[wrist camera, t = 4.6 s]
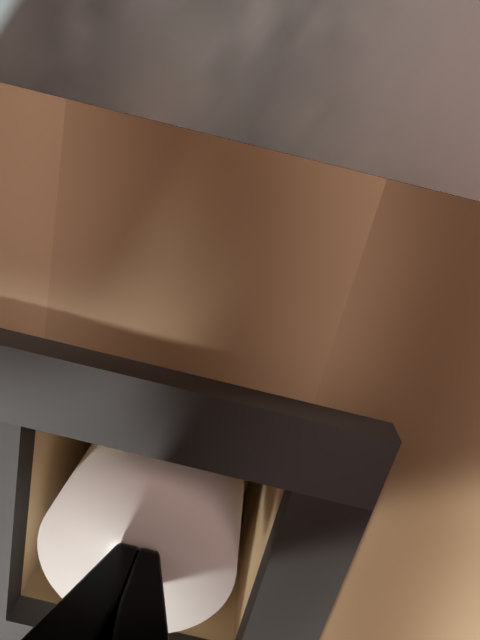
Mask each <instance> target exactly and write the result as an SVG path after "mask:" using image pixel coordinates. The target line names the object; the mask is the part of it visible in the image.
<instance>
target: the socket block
mask: <svg viewBox="0 0 480 640" xmlns="http://www.w3.org/2000/svg"><path fill="white" fill-rule="evenodd" d="M91 444H97V445H101V446H105V447H109V448H113V449H117V450H121V451H126V452H130V453H134V454H138V455H142V456H146V457H151V458H155V459H159V460H163V461H167V462H171V463H175V464H180V465H184V466H188V467H192V468H196V469H200V470H205V471H209V472H213V473H217V474H221V475H225V476H229V477H234V478H238V479H242V480H245V482H244V494H243V505H242V517H241V528H240V539H239V551H238V562H237V574H236V579H235V584H234V587H233V589H232V592H231V594H230V596H229V597H228V599H227V601H226V602H225V603H224V605H223V606H222V607H221V608H220V609H219V610H218V611H217V612H216V613H215V614H214V615H212V616H211V617H210V618H208V619H207V620H205V621H203V622H202V623H200V624H198V625H195V626H193V627H191V628H188V629H185V630H182V631H177V632H173V633H168V635H169V640H480V202H479V201H475V200H471V199H467V198H463V197H459V196H455V195H451V194H447V193H443V192H439V191H435V190H430V189H426V188H422V187H418V186H414V185H410V184H406V183H402V182H398V181H394V180H390V179H386V178H382V177H378V176H374V175H370V174H366V173H362V172H358V171H354V170H350V169H346V168H342V167H338V166H334V165H330V164H326V163H322V162H318V161H314V160H310V159H306V158H302V157H298V156H294V155H290V154H286V153H282V152H278V151H274V150H270V149H266V148H262V147H258V146H254V145H250V144H246V143H242V142H238V141H234V140H230V139H226V138H222V137H218V136H214V135H210V134H206V133H202V132H198V131H194V130H190V129H186V128H182V127H178V126H174V125H170V124H166V123H162V122H158V121H154V120H150V119H146V118H142V117H138V116H134V115H130V114H126V113H121V112H117V111H113V110H109V109H105V108H101V107H97V106H93V105H89V104H85V103H81V102H77V101H73V100H69V99H65V98H61V97H57V96H53V95H49V94H45V93H41V92H37V91H33V90H29V89H25V88H21V87H17V86H13V85H9V84H5V83H1V82H0V640H21V639H22V638H23V637H24V636H25V635H26V634H27V633H28V632H29V631H30V630H31V629H32V628H33V627H34V626H35V625H36V624H37V623H38V622H39V621H40V620H41V619H42V618H43V617H44V616H45V615H46V614H47V613H48V612H49V611H50V610H51V609H52V608H53V607H54V606H55V605H56V604H57V603H58V602H59V601H60V600H61V599H62V598H61V597H60V596H59V594H58V593H57V592H56V591H55V590H54V588H53V587H52V586H51V584H50V583H49V581H48V580H47V578H46V576H45V574H44V572H43V570H42V567H41V564H40V561H39V556H38V549H37V538H38V533H39V528H40V525H41V523H42V520H43V518H44V516H45V515H46V513H47V511H48V510H49V508H50V507H51V505H52V503H53V502H54V500H55V499H56V497H57V496H58V494H59V493H60V491H61V490H62V488H63V487H64V485H65V484H66V482H67V481H68V479H69V478H70V476H71V475H72V473H73V472H74V470H75V468H76V467H77V465H78V464H79V462H80V461H81V459H82V458H83V456H84V455H85V453H86V452H87V450H88V449H89V447H90V446H91Z"/></svg>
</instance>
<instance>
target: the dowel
mask: <svg viewBox="0 0 480 640" xmlns="http://www.w3.org/2000/svg"><path fill="white" fill-rule="evenodd" d="M244 482H245V480H242V479H238V478H234V477H229V476H225V475H221V474H217V473H213V472H209V471H205V470H200V469H196V468H192V467H188V466H184V465H180V464H175V463H171V462H167V461H163V460H159V459H155V458H151V457H146V456H142V455H138V454H134V453H130V452H126V451H121V450H117V449H113V448H109V447H105V446H101V445H97V444H91V446H90V447H89V449H88V450H87V452H86V453H85V455H84V456H83V458H82V459H81V461H80V462H79V464H78V465H77V467H76V468H75V470H74V472H73V473H72V475H71V476H70V478H69V479H68V481H67V482H66V484H65V485H64V487H63V488H62V490H61V491H60V493H59V494H58V496H57V497H56V499H55V500H54V502H53V503H52V505H51V507H50V508H49V510H48V511H47V513H46V515H45V516H44V518H43V520H42V523H41V525H40V528H39V533H38V538H37V549H38V556H39V561H40V564H41V567H42V570H43V572H44V574H45V576H46V578H47V580H48V581H49V583H50V584H51V586H52V587H53V588H54V590H55V591H56V592H57V593H58V594H59V596H60V597H61V598H63V597H64V596H65V595H66V594H67V593H68V592H69V591H70V590H71V589H72V588H73V587H74V586H75V585H76V584H77V583H78V582H79V581H80V580H81V579H82V578H83V577H84V576H85V575H86V574H87V573H88V572H89V571H90V570H91V569H92V568H93V567H94V566H95V565H96V564H97V563H99V562H100V561H101V560H102V559H103V558H104V557H105V556H106V555H107V554H108V553H109V552H110V551H111V550H112V549H113V548H114V547H115V546H116V545H117V544H118V543H126V544H130V545H134V546H137V547H138V550H139V549H140V548H147V549H151V550H155V551H158V552H159V554H160V560H161V569H162V579H163V588H164V597H165V607H166V616H167V625H168V633H173V632H177V631H182V630H185V629H188V628H191V627H193V626H195V625H198V624H200V623H202V622H203V621H205V620H207V619H208V618H210V617H211V616H212V615H214V614H215V613H216V612H217V611H218V610H219V609H220V608H221V607H222V606H223V605H224V603H225V602H226V601H227V599H228V597H229V596H230V594H231V592H232V589H233V587H234V584H235V579H236V574H237V562H238V551H239V539H240V528H241V517H242V505H243V494H244Z"/></svg>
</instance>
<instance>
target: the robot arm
mask: <svg viewBox="0 0 480 640" xmlns="http://www.w3.org/2000/svg"><path fill="white" fill-rule="evenodd" d="M21 640H169V635H168V625H167V616H166V607H165V597H164V588H163V579H162V569H161V560H160V554H159V552H158V551H155V550H151V549H147V548H140V549H139V550H138V547H137V546H134V545H130V544H126V543H118V544H117V545H116V546H115V547H114V548H113V549H112V550H111V551H110V552H109V553H108V554H107V555H106V556H105V557H104V558H103V559H102V560H101V561H100V562H99V563H97V564H96V565H95V566H94V567H93V568H92V569H91V570H90V571H89V572H88V573H87V574H86V575H85V576H84V577H83V578H82V579H81V580H80V581H79V582H78V583H77V584H76V585H75V586H74V587H73V588H72V589H71V590H70V591H69V592H68V593H67V594H66V595H65V596H64V597H63V598H62V599H61V600H60V601H59V602H58V603H57V604H56V605H55V606H54V607H53V608H52V609H51V610H50V611H49V612H48V613H47V614H46V615H45V616H44V617H43V618H42V619H41V620H40V621H39V622H38V623H37V624H36V625H35V626H34V627H33V628H32V629H31V630H30V631H29V632H28V633H27V634H26V635H25V636H24V637H23V638H22V639H21Z"/></svg>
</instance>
